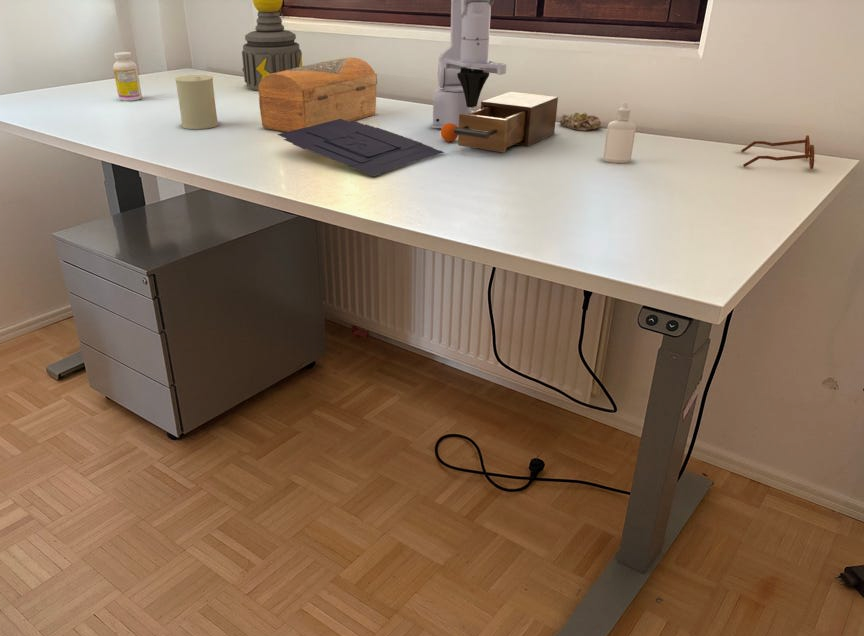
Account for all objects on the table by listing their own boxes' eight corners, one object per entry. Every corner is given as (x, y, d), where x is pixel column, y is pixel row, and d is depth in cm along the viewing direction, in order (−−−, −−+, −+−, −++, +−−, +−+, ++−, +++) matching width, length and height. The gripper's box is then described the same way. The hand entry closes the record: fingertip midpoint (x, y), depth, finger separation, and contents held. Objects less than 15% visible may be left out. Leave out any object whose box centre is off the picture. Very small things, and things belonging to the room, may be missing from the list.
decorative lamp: (236, 91, 231) (225, -17, 216) (255, 81, 247) (246, -20, 232) (294, 92, 228) (287, -17, 213) (310, 82, 244) (304, -20, 229)
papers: (345, 128, 180) (346, 113, 178) (443, 164, 165) (446, 148, 163) (270, 148, 164) (270, 131, 162) (371, 189, 149) (373, 172, 147)
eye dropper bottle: (623, 165, 155) (633, 105, 149) (599, 160, 158) (607, 102, 152) (633, 161, 157) (643, 102, 151) (609, 156, 161) (617, 99, 155)
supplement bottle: (125, 96, 225) (117, 51, 218) (145, 97, 224) (138, 51, 217) (115, 101, 219) (106, 54, 213) (136, 101, 218) (128, 54, 212)
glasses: (812, 173, 149) (820, 148, 146) (742, 167, 153) (748, 143, 150) (805, 157, 159) (812, 133, 157) (739, 152, 163) (745, 128, 161)
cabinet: (527, 146, 169) (531, 107, 165) (478, 139, 175) (481, 101, 171) (554, 134, 179) (558, 96, 175) (507, 127, 186) (510, 91, 181)
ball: (438, 143, 172) (439, 124, 170) (442, 138, 176) (442, 120, 174) (456, 144, 172) (457, 125, 169) (459, 139, 175) (460, 121, 173)
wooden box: (331, 107, 208) (329, 54, 201) (379, 114, 200) (378, 59, 193) (256, 127, 187) (251, 69, 180) (306, 136, 179) (302, 75, 172)
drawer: (492, 157, 158) (494, 124, 154) (446, 149, 164) (447, 118, 160) (530, 139, 171) (533, 109, 167) (486, 133, 176) (488, 103, 173)
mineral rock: (608, 116, 185) (596, 112, 178) (605, 134, 186) (592, 131, 180) (568, 112, 191) (555, 109, 184) (565, 130, 192) (552, 127, 186)
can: (192, 131, 185) (186, 80, 179) (175, 125, 191) (168, 75, 185) (225, 125, 190) (219, 75, 184) (207, 119, 196) (201, 71, 190)
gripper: (435, 38, 155) (433, 105, 162) (495, 43, 147) (491, 113, 154) (454, 34, 160) (451, 100, 166) (513, 39, 152) (508, 108, 159)
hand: (471, 106), depth 161 cm, fingers closed
